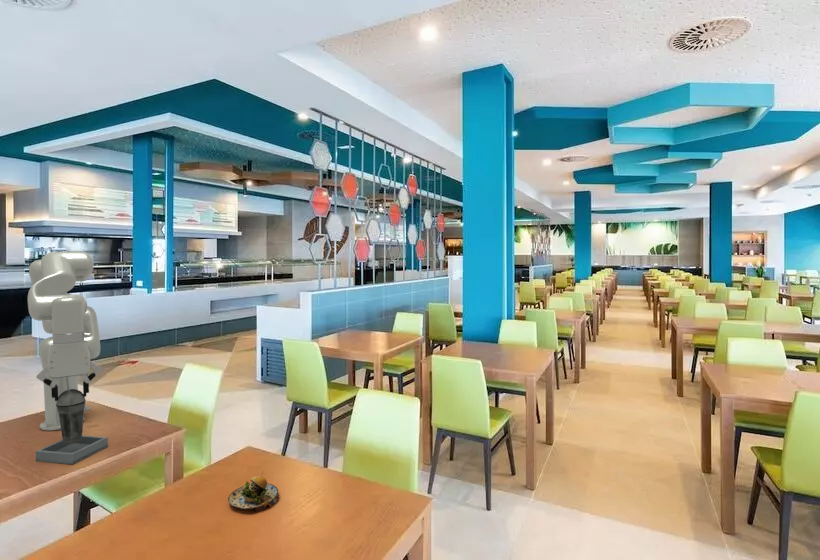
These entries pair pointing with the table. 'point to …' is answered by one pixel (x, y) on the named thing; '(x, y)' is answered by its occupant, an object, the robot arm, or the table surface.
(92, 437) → the tray
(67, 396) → the beverage cup
